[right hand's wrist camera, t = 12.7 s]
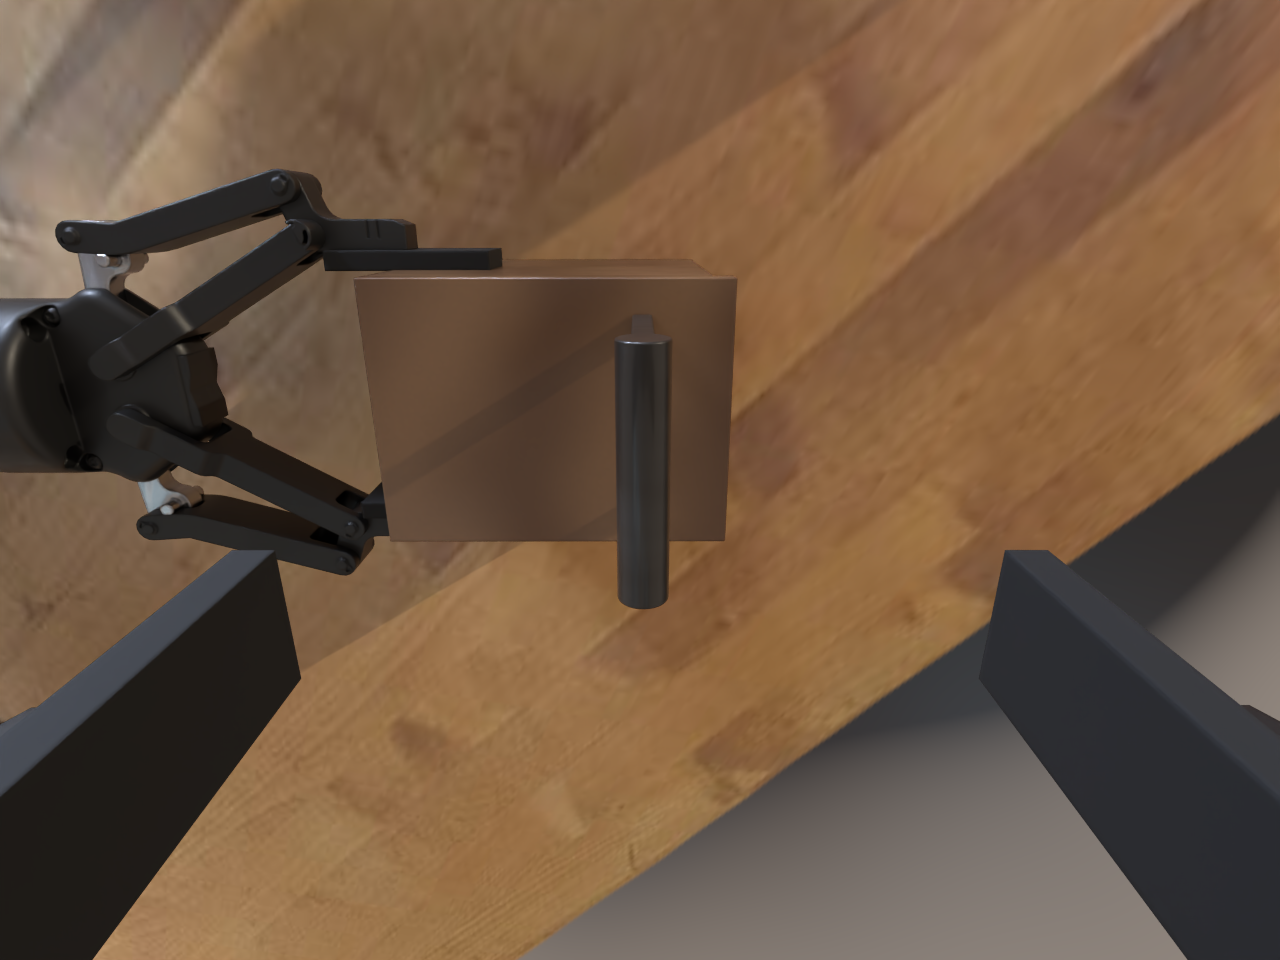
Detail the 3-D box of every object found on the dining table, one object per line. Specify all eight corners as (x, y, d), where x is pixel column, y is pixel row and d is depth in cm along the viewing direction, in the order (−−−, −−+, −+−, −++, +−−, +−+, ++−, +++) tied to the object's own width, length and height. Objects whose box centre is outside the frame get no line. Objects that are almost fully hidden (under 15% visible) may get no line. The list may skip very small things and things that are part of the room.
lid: (733, 275, 25) (774, 298, 17) (722, 531, 28) (752, 641, 21) (363, 275, 24) (245, 298, 17) (398, 531, 28) (312, 642, 21)
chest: (692, 259, 35) (714, 275, 25) (687, 448, 38) (705, 530, 28) (444, 259, 35) (363, 275, 25) (462, 448, 38) (398, 531, 28)
